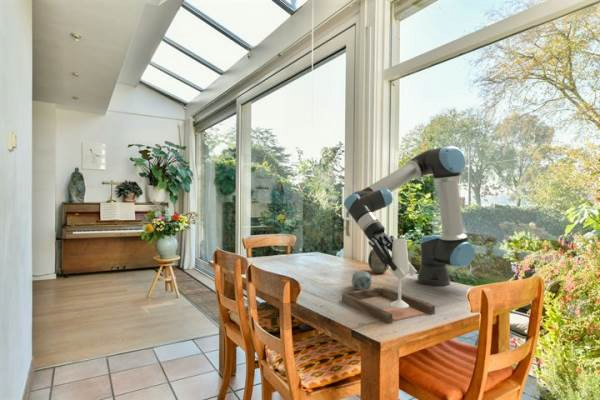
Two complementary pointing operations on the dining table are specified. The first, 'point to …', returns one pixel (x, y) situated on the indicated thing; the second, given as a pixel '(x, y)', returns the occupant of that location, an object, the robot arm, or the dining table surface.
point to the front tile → (403, 313)
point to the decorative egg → (376, 263)
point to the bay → (376, 312)
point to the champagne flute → (402, 260)
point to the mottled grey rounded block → (361, 280)
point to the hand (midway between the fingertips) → (408, 275)
